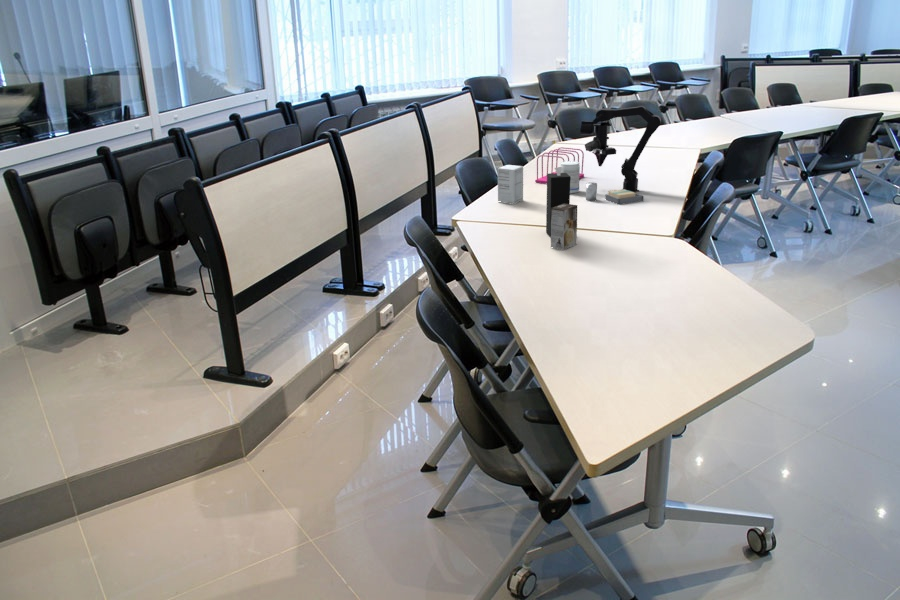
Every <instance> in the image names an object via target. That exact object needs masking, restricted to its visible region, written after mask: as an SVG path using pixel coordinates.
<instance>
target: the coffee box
mask: <svg viewBox="0 0 900 600" xmlns="http://www.w3.org/2000/svg"><path fill="white" fill-rule="evenodd" d="M577 232H578V205H577V204H572V203H570V204H565V203H564V204H561V205H558V206H555V207H553V208H551V237H550V248H551V247H553V248H552V249H555V248H558V249H557V250H560V249H562V250H561V251H566V250H568V249H570V248H573V247H574V246H576V245H577V242H578V241H577V239H578V237H577V235H578V234H577ZM569 247H570V248H569ZM567 248H568V249H567ZM565 249H566V250H565Z"/></svg>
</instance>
